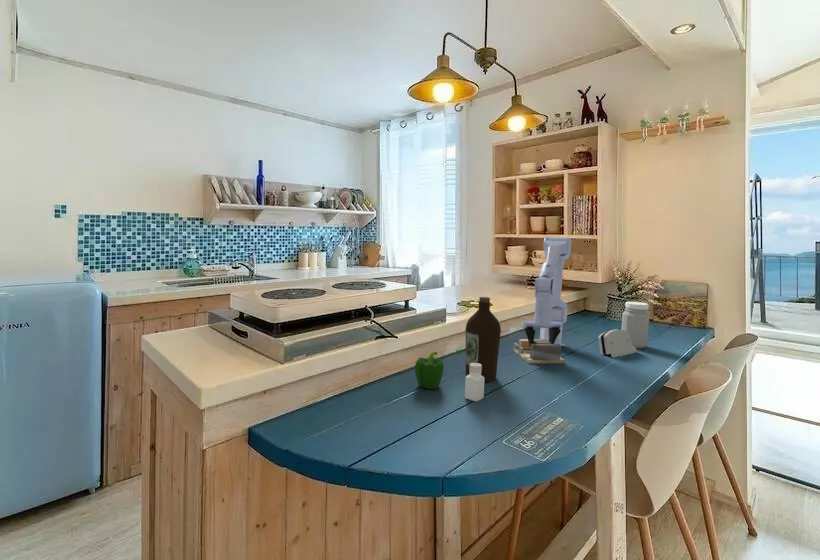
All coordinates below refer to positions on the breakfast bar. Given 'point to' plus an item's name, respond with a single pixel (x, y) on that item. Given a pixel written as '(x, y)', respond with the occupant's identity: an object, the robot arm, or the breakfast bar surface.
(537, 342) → the block
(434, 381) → the bell pepper
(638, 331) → the jar
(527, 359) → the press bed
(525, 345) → the block
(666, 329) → the breakfast bar surface
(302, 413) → the breakfast bar surface
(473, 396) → the white pill bottle
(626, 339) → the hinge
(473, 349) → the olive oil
